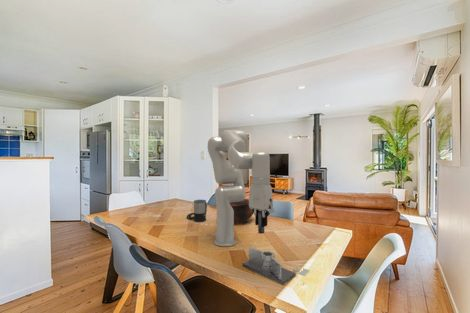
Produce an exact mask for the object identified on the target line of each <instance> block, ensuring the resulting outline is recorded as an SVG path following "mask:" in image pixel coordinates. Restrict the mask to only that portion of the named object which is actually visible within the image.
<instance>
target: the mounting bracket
mask: <svg viewBox="0 0 470 313" xmlns="http://www.w3.org/2000/svg"><path fill="white" fill-rule="evenodd" d="M299 268H303V271H301V272H299V273H297V271H300V269H299ZM294 271H295V274H297V275H300V276H303V277H304V276H307V274H309V272H310V269H307V268H304V267H301V266H300V267H293V272H294Z"/></svg>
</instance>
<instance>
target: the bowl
mask: <svg viewBox="0 0 470 313" xmlns="http://www.w3.org/2000/svg"><path fill="white" fill-rule="evenodd" d="M230 205H231V207H232V208H233V210H234V225H235V224H237V225H238V224H245V223H247V221H249V219H250V218H251V217H252V216H253V215H254V212H253V211H252V210H251V209H250V208H249V198H245V199H244V200H243V201H240V202H232V203H230Z"/></svg>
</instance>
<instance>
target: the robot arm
mask: <svg viewBox="0 0 470 313" xmlns="http://www.w3.org/2000/svg"><path fill="white" fill-rule="evenodd" d="M247 142H248V134H247V133H246V131H244V130H242V129H225V130H223V131H222V132H221V134H220V136H211V137H210V138H209V139H208V141H207V152H208V155H209V157H210V159H211V163H212V168H213V175H214V180H215V182H216V184H220V185H221V186H218V187H217V188H215V191H214V197H215V198H214V199H215V203H216V205H215V206H216V231H215V232H214V233H213V236H214V237H215V239H214V240H213V243H214V245H216V246H217V247H223V248H224V247H231V246H234V245H236V244H237V243H238V240H237V238H236V237H235V227H234V226H235V223H234V210H233V208H232V207H231V205H230V203H232V202H240V201H243V200H244V199H246V196H247V195H246V189H245V188H246V187H245V181H244V178H243V173H242V171H241V170H251V178H250V181H251V184H250V186H249V190H248V191H249V192H248V199H249V208H250V209H251V210H252V211H253V212H254V213H253V215H254V216H255V218H254V219H255V221H254V222H255V224H254V225H255V226H258V210H262V216H263V217H261V226H262V227H264V228H265V227H267V226H268V217H269V216H270V215H271V214H273V213H274V212H275V208H274V197H273V188H272V185H271V176H270V175H271V171H270V170H271V169H270V168H271V166H270V165H271V162H270V161H271V158H270V153H269V152H259V151H258V152H257V151H254V152H253V151H252V152H250V151H248V152H247V151H245V150H246V144H247ZM222 152H227V157H225V155H224V154H223V153H222ZM227 158H228V159H227ZM228 162H229V163H230V164H231V165H232V166H229V165H228ZM230 184H231V185H230Z"/></svg>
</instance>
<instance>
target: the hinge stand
mask: <svg viewBox="0 0 470 313" xmlns="http://www.w3.org/2000/svg"><path fill="white" fill-rule="evenodd" d="M271 257H273V258H274V259H275V252H273V251H270V250H268V251H267V250H265V251H264V250H260V249H257V248H254V247H251V246H249V247H248V260H247V261H246V260H245V261H244V262H243V263H241V264H242V265H241V266H242V267H244V268H245V269H248V270H250V271H252V272H254V273H256V274H258V275H261V276H263V277H265V278H268V279H269V280H272V281H273V282H276V283H278V284H281V285H285V284H286V283H288V282H289V281H291V280H292V279H293V278H294V277H296V272H294V271H291V270H289V269H287V268H284V267H282V266H281V280H280V279H278V278H277V277H276V276H275V275H274V274H273V273H272V272H271V266H264V265H262V264H261V259H262V260H264V261H271ZM275 260H276V259H275Z"/></svg>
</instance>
